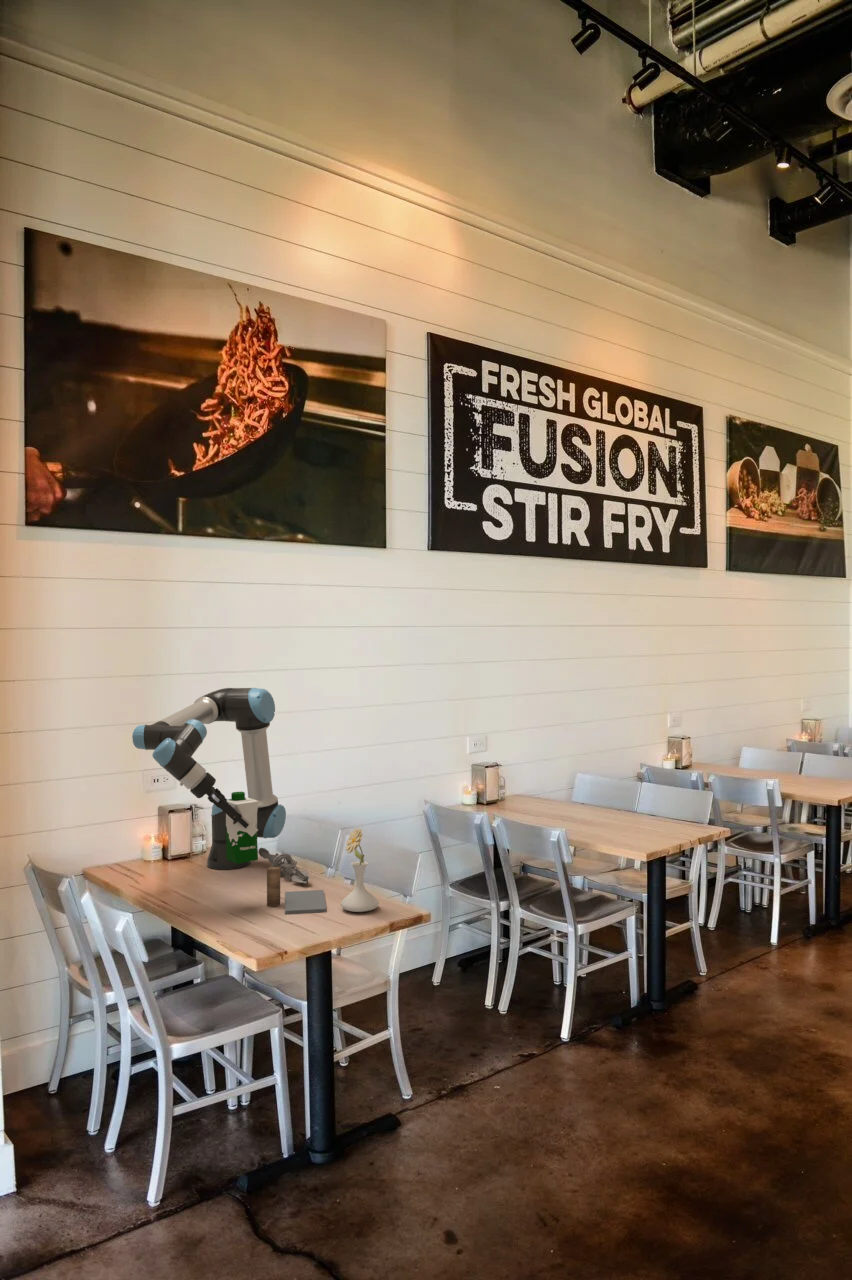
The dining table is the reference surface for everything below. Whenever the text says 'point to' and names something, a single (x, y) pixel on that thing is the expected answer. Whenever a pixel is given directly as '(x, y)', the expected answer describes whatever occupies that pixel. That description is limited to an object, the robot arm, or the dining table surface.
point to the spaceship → (285, 866)
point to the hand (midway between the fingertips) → (252, 829)
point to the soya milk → (241, 830)
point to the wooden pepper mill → (273, 886)
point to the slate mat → (305, 902)
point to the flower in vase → (358, 880)
